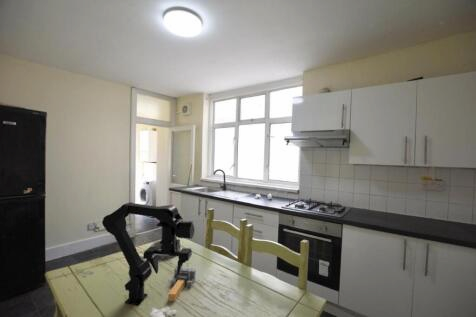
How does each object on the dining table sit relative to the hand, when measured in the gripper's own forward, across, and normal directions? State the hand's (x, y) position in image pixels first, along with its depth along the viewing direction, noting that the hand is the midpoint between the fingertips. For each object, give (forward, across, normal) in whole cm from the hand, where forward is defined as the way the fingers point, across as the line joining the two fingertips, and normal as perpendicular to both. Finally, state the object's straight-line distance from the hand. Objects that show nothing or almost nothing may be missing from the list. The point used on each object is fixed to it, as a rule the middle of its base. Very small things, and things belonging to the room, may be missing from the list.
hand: (167, 273), depth 90 cm
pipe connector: (+12, +21, -26) cm, 36 cm away
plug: (+12, -2, -9) cm, 16 cm away
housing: (+12, -2, -15) cm, 19 cm away
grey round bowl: (+13, +19, -45) cm, 51 cm away
